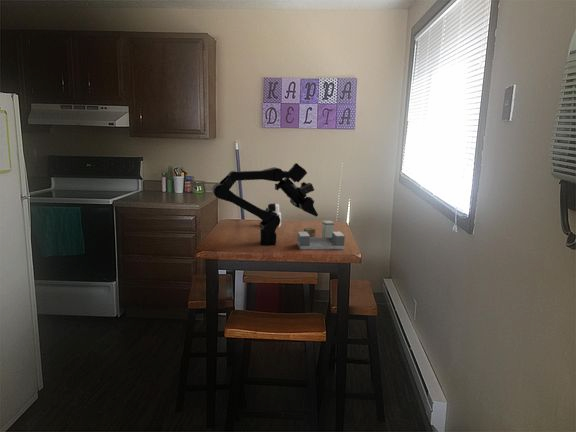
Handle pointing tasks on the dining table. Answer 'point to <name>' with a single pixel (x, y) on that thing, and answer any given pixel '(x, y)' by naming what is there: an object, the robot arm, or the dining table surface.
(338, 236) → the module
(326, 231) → the block
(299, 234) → the block
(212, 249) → the dining table surface
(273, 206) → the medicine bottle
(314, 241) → the grey base plate
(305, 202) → the robot arm
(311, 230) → the walnut block
